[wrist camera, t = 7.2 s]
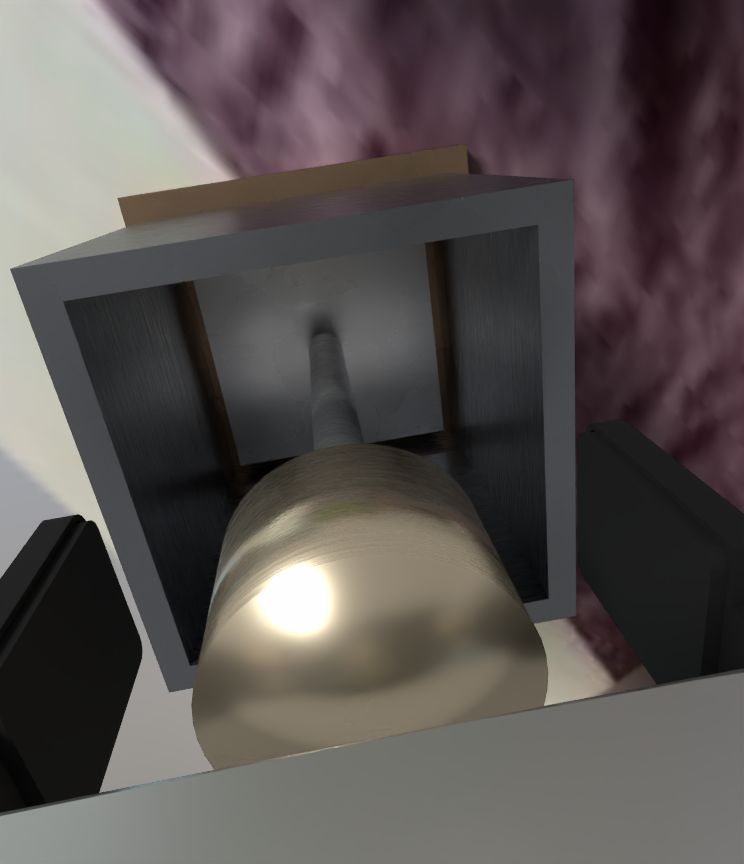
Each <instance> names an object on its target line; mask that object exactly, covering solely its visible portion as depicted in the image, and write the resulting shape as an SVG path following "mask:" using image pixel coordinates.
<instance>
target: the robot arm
mask: <svg viewBox="0 0 744 864" xmlns="http://www.w3.org/2000/svg"><path fill="white" fill-rule="evenodd" d="M577 462H578V563H579V567H580V570H581V573H582V575H583V577H584V579H585V580H586V582H587V583H588V585H589V586H590V588H591V589H592V591H593V592H594V594H595V595H596V596H597V598H598V599H599V601H600V602H601V604H602V605H603V607H604V608H605V610H606V611H607V613H608V614H609V615H610V617H611V618H612V620H613V621H614V623H615V624H616V626H617V627H618V629H619V630H620V631H621V633H622V634H623V636H624V637H625V639H626V640H627V642H628V643H629V645H630V646H631V647H632V649H633V650H634V652H635V653H636V655H637V656H638V658H639V659H640V661H641V662H642V663H643V665H644V666H645V668H646V669H647V671H648V672H649V674H650V675H651V677H652V678H653V679H654V681H655V682H656V684H657V685H653V686H648V687H643V688H637V689H632V690H627V691H621V692H616V693H610V694H605V695H600V696H595V697H589V698H584V699H579V700H573V701H568V702H563V703H558V704H552V705H547V706H542V707H536V708H531V709H526V710H521V711H515V712H510V713H505V714H500V715H494V716H489V717H484V718H479V719H473V720H468V721H463V722H458V723H453V724H447V725H442V726H437V727H432V728H427V729H422V730H416V731H411V732H406V733H401V734H396V735H391V736H385V737H380V738H375V739H370V740H365V741H360V742H355V743H349V744H344V745H339V746H334V747H329V748H324V749H319V750H314V751H309V752H303V753H298V754H293V755H288V756H283V757H278V758H273V759H268V760H263V761H257V762H252V763H247V764H242V765H237V766H232V767H227V768H222V769H217V770H212V771H207V772H202V773H198V774H192V775H187V776H182V777H177V778H172V779H167V780H162V781H157V782H152V783H147V784H142V785H137V786H132V787H127V788H122V789H117V790H112V791H107V792H102V793H99V791H100V788H101V785H102V782H103V779H104V776H105V772H106V770H107V766H108V763H109V760H110V757H111V754H112V751H113V748H114V744H115V741H116V738H117V735H118V732H119V729H120V726H121V723H122V719H123V716H124V713H125V710H126V707H127V704H128V701H129V697H130V694H131V691H132V688H133V685H134V682H135V679H136V676H137V673H138V669H139V666H140V663H141V659H142V643H141V639H140V636H139V634H138V631H137V628H136V626H135V623H134V620H133V618H132V615H131V613H130V610H129V607H128V605H127V602H126V600H125V597H124V594H123V592H122V589H121V586H120V584H119V582H118V579H117V576H116V574H115V571H114V568H113V566H112V563H111V560H110V558H109V555H108V553H107V550H106V547H105V545H104V542H103V540H102V537H101V534H100V532H99V529H98V527H97V525H96V524H95V522H93V521H86V520H85V519H84V518H83V517H82V516H81V515H79V514H78V515H72V516H67V517H61V518H55V519H50V520H44V521H43V522H42V523H40V525H39V526H38V528H37V529H36V530H35V532H34V533H33V535H32V536H31V537H30V539H29V540H28V542H27V543H26V544H25V546H24V547H23V548H22V550H21V551H20V553H19V554H18V555H17V557H16V558H15V559H14V561H13V562H12V563H11V565H10V566H9V568H8V569H7V570H6V572H5V573H4V575H3V576H2V577H1V579H0V864H744V514H743V513H742V512H741V511H740V510H738V509H737V508H736V507H735V506H733V505H732V504H731V503H729V502H728V501H727V500H726V499H724V498H723V497H722V496H721V495H719V494H718V493H717V492H715V491H714V490H713V489H712V488H710V487H709V486H708V485H707V484H705V483H704V482H703V481H702V480H700V479H699V478H698V477H696V476H695V475H694V474H693V473H691V472H690V471H689V470H688V469H686V468H685V467H684V466H682V465H681V464H680V463H679V462H677V461H676V460H675V459H674V458H672V457H671V456H670V455H668V454H667V453H666V452H665V451H663V450H662V449H661V448H660V447H658V446H657V445H656V444H654V443H653V442H652V441H651V440H649V439H648V438H647V437H646V436H644V435H643V434H642V433H640V432H639V431H638V430H637V429H635V428H634V427H633V426H632V425H630V424H629V423H628V422H626V421H625V420H623V419H618V420H613V421H607V422H601V423H596V424H590V425H589V426H588V428H587V431H586V433H584V434H580V435H579V437H578V443H577Z"/></svg>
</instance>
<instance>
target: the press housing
mask: <svg viewBox="0 0 744 864" xmlns="http://www.w3.org/2000/svg"><path fill="white" fill-rule="evenodd" d="M118 201H119V205H120V208H121V212H122V215H123V219H124V222H125V225H126V227H125V228H123V229H120V230H117V231H114V232H111V233H109V234H106V235H103V236H100V237H98V238H95V239H92V240H89V241H86V242H84V243H81V244H78V245H75V246H73V247H70V248H67V249H64V250H61V251H59V252H56V253H53V254H50V255H48V256H45V257H42V258H39V259H36V260H34V261H31V262H28V263H25V264H23V265H20V266H17V267H14V268H11V269H10V270H11V273H12V275H13V278H14V281H15V283H16V286H17V289H18V291H19V294H20V297H21V299H22V302H23V305H24V307H25V310H26V313H27V315H28V318H29V321H30V323H31V326H32V329H33V331H34V334H35V337H36V339H37V342H38V345H39V347H40V350H41V353H42V355H43V358H44V361H45V363H46V366H47V369H48V371H49V374H50V377H51V379H52V382H53V384H54V387H55V390H56V392H57V395H58V398H59V400H60V403H61V406H62V408H63V411H64V414H65V416H66V419H67V422H68V424H69V427H70V430H71V432H72V435H73V438H74V440H75V443H76V446H77V448H78V451H79V454H80V456H81V459H82V462H83V464H84V467H85V470H86V472H87V475H88V478H89V480H90V483H91V486H92V488H93V491H94V494H95V496H96V499H97V502H98V504H99V507H100V510H101V512H102V515H103V517H104V520H105V523H106V525H107V528H108V531H109V533H110V536H111V539H112V541H113V544H114V547H115V549H116V552H117V555H118V557H119V560H120V563H121V565H122V568H123V571H124V573H125V576H126V579H127V581H128V584H129V587H130V589H131V592H132V594H133V597H134V600H135V603H136V605H137V608H138V611H139V613H140V616H141V619H142V621H143V624H144V626H145V629H146V632H147V634H148V637H149V640H150V643H151V645H152V648H153V651H154V653H155V656H156V658H157V661H158V664H159V666H160V669H161V672H162V674H163V677H164V680H165V682H166V685H167V688H168V690H169V692H174V691H179V690H185V689H190V688H193V686H194V682H195V677H196V672H197V667H198V662H199V657H200V652H201V647H202V642H203V637H204V632H205V628H206V623H207V618H208V613H209V608H210V603H211V598H212V593H213V588H214V583H215V579H216V574H217V569H218V564H219V559H220V554H221V549H222V544H223V540H224V537H225V533H226V529H227V526H228V524H229V522H230V520H231V518H232V515H233V513H234V512H235V510H236V508H237V507H238V505H239V504H240V502H241V501H242V499H243V498H244V497H245V496H246V494H247V493H248V492H249V491H250V490H251V489H252V487H253V486H255V485H256V484H257V483H258V482H259V481H260V480H261V479H262V478H263V477H265V476H266V475H267V474H268V473H270V472H271V471H273V470H274V469H276V468H277V467H279V466H280V465H282V464H284V463H286V462H288V461H290V460H292V459H294V458H296V457H297V456H293V457H287V458H282V459H276V460H270V461H264V462H259V463H253V464H247V465H241V464H240V460H239V457H238V453H237V449H236V445H235V441H234V437H233V433H232V429H231V425H230V422H229V418H228V414H227V410H226V406H225V402H224V398H223V394H222V391H221V387H220V383H219V379H218V375H217V371H216V367H215V363H214V359H213V356H212V352H211V348H210V344H209V340H208V336H207V332H206V328H205V325H204V321H203V317H202V313H201V309H200V305H199V301H198V297H197V293H196V290H195V286H194V282H193V280H198V279H204V278H210V277H216V276H222V275H229V274H235V273H241V272H247V271H253V270H260V269H266V268H272V267H278V266H284V265H291V264H297V263H303V262H309V261H315V260H322V259H328V258H334V257H340V256H346V255H353V254H359V253H365V252H371V251H377V250H384V249H390V248H396V247H402V246H408V245H414V244H421V243H425V250H426V260H427V269H428V279H429V289H430V299H431V309H432V319H433V328H434V338H435V348H436V358H437V368H438V377H439V387H440V397H441V407H442V417H443V427H444V430H442V431H436V432H431V433H425V434H419V435H413V436H408V437H402V438H396V439H391V440H385V441H379V442H373V443H368V444H377V445H385V446H391V447H395V448H399V449H403V450H406V451H409V452H411V453H414V454H416V455H419V456H421V457H423V458H425V459H427V460H429V461H431V462H432V463H434V464H436V465H437V466H439V467H440V468H441V469H443V470H444V471H445V472H447V473H448V474H449V475H450V476H451V477H452V478H453V479H454V480H455V481H456V482H457V483H458V484H459V485H460V486H461V487H462V489H463V490H464V491H465V493H466V494H467V495H468V497H469V498H470V500H471V502H472V504H473V506H474V508H475V510H476V512H477V514H478V516H479V518H480V520H481V522H482V524H483V526H484V528H485V530H486V532H487V533H488V535H489V537H490V539H491V541H492V543H493V545H494V547H495V549H496V551H497V553H498V555H499V557H500V559H501V561H502V563H503V565H504V567H505V569H506V571H507V573H508V575H509V577H510V579H511V581H512V583H513V585H514V587H515V589H516V590H517V592H518V594H519V596H520V598H521V600H522V602H523V604H524V606H525V608H526V610H527V612H528V614H529V616H530V618H531V620H532V622H533V624H534V623H540V622H545V621H550V620H556V619H561V618H566V617H571V616H576V498H575V313H574V179H555V178H537V177H518V176H500V175H481V174H469V172H468V158H467V144H463V145H456V146H449V147H443V148H436V149H430V150H424V151H417V152H411V153H404V154H398V155H391V156H385V157H378V158H372V159H366V160H359V161H353V162H346V163H340V164H333V165H327V166H320V167H314V168H308V169H301V170H295V171H288V172H282V173H275V174H269V175H262V176H256V177H250V178H243V179H237V180H230V181H224V182H217V183H211V184H204V185H198V186H192V187H185V188H179V189H172V190H166V191H159V192H153V193H146V194H140V195H134V196H127V197H121V198H118ZM299 456H300V455H299Z"/></svg>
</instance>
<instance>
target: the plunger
mask: <svg viewBox="0 0 744 864" xmlns="http://www.w3.org/2000/svg"><path fill="white" fill-rule="evenodd" d="M193 282H194V286H195V290H196V293H197V297H198V301H199V305H200V309H201V313H202V317H203V321H204V325H205V328H206V332H207V336H208V340H209V344H210V348H211V352H212V356H213V359H214V363H215V367H216V371H217V375H218V379H219V383H220V387H221V391H222V394H223V398H224V402H225V406H226V410H227V414H228V418H229V422H230V425H231V429H232V433H233V437H234V441H235V445H236V449H237V453H238V457H239V460H240V464H241V465H247V464H253V463H259V462H264V461H270V460H276V459H282V458H287V457H293V456H297V457H296V458H294V459H292V460H290V461H288V462H286V463H284V464H282V465H280V466H279V467H277V468H276V469H274V470H273V471H271V472H270V473H268V474H267V475H266V476H265V477H263V478H262V479H261V480H260V481H259V482H258V483H257V484H256V485H255V486H253V487H252V489H251V490H250V491H249V492H248V493H247V494H246V496H245V497H244V498H243V499H242V501H241V502H240V504H239V505H238V507H237V508H236V510H235V512H234V513H233V515H232V518H231V520H230V522H229V524H228V526H227V529H226V533H225V537H224V540H223V544H222V549H221V554H220V559H219V564H218V569H217V574H216V579H215V583H214V588H213V593H212V598H211V603H210V608H209V613H208V618H207V623H206V628H205V632H204V637H203V642H202V647H201V652H200V657H199V662H198V667H197V672H196V677H195V682H194V686H193V697H192V715H193V716H192V717H193V725H194V729H195V732H196V736H197V740H198V742H199V744H200V746H201V748H202V750H203V753H204V755H205V757H206V758H207V759H208V761H209V762H210V764H211V765H212V767H213V768H214V770H217V769H222V768H227V767H232V766H237V765H242V764H247V763H252V762H257V761H263V760H268V759H273V758H278V757H283V756H288V755H293V754H298V753H303V752H309V751H314V750H319V749H324V748H329V747H334V746H339V745H344V744H349V743H355V742H360V741H365V740H370V739H375V738H380V737H385V736H391V735H396V734H401V733H406V732H411V731H416V730H422V729H427V728H432V727H437V726H442V725H447V724H453V723H458V722H463V721H468V720H473V719H479V718H484V717H489V716H494V715H500V714H505V713H510V712H515V711H521V710H526V709H531V708H536V707H542V706H544V702H545V698H546V693H547V685H548V667H547V658H546V653H545V650H544V647H543V643H542V640H541V638H540V636H539V634H538V632H537V630H536V628H535V626H534V624H533V622H532V620H531V618H530V616H529V614H528V612H527V610H526V608H525V606H524V604H523V602H522V600H521V598H520V596H519V594H518V592H517V590H516V589H515V587H514V585H513V583H512V581H511V579H510V577H509V575H508V573H507V571H506V569H505V567H504V565H503V563H502V561H501V559H500V557H499V555H498V553H497V551H496V549H495V547H494V545H493V543H492V541H491V539H490V537H489V535H488V533H487V532H486V530H485V528H484V526H483V524H482V522H481V520H480V518H479V516H478V514H477V512H476V510H475V508H474V506H473V504H472V502H471V500H470V498H469V497H468V495H467V494H466V493H465V491H464V490H463V489H462V487H461V486H460V485H459V484H458V483H457V482H456V481H455V480H454V479H453V478H452V477H451V476H450V475H449V474H448V473H447V472H445V471H444V470H443V469H441V468H440V467H439V466H437V465H436V464H434V463H432V462H431V461H429V460H427V459H425V458H423V457H421V456H419V455H416V454H414V453H411V452H409V451H406V450H403V449H399V448H395V447H391V446H385V445H377V444H368V443H373V442H379V441H385V440H391V439H396V438H402V437H408V436H413V435H419V434H425V433H431V432H436V431H442V430H444V427H443V417H442V407H441V397H440V387H439V377H438V368H437V358H436V348H435V338H434V328H433V319H432V309H431V299H430V289H429V279H428V269H427V260H426V250H425V243H421V244H414V245H408V246H402V247H396V248H390V249H384V250H377V251H371V252H365V253H359V254H353V255H346V256H340V257H334V258H328V259H322V260H315V261H309V262H303V263H297V264H291V265H284V266H278V267H272V268H266V269H260V270H253V271H247V272H241V273H235V274H229V275H222V276H216V277H210V278H204V279H198V280H193ZM299 455H300V456H299Z"/></svg>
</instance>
